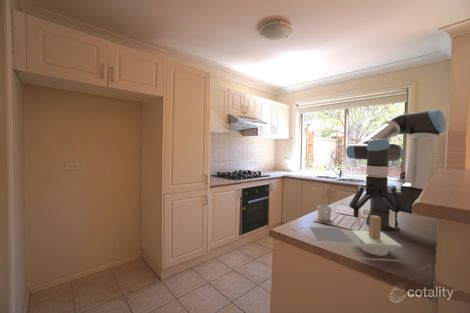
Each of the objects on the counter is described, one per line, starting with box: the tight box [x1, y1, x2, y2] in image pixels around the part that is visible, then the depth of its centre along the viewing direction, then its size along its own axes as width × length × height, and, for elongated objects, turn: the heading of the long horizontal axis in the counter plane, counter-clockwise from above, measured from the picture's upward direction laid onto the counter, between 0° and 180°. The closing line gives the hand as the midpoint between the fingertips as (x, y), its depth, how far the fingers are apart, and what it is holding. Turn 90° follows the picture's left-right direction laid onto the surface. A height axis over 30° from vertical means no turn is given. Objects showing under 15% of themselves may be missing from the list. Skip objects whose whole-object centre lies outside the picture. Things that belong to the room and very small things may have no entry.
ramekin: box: [359, 240, 390, 257], centre depth 90 cm, size 11×11×5 cm
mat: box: [309, 226, 354, 243], centre depth 106 cm, size 16×16×1 cm
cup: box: [316, 204, 333, 222], centre depth 126 cm, size 11×8×8 cm
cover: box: [350, 215, 402, 249], centre depth 89 cm, size 13×13×10 cm
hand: (374, 225), depth 89 cm, fingers open, 13 cm apart
